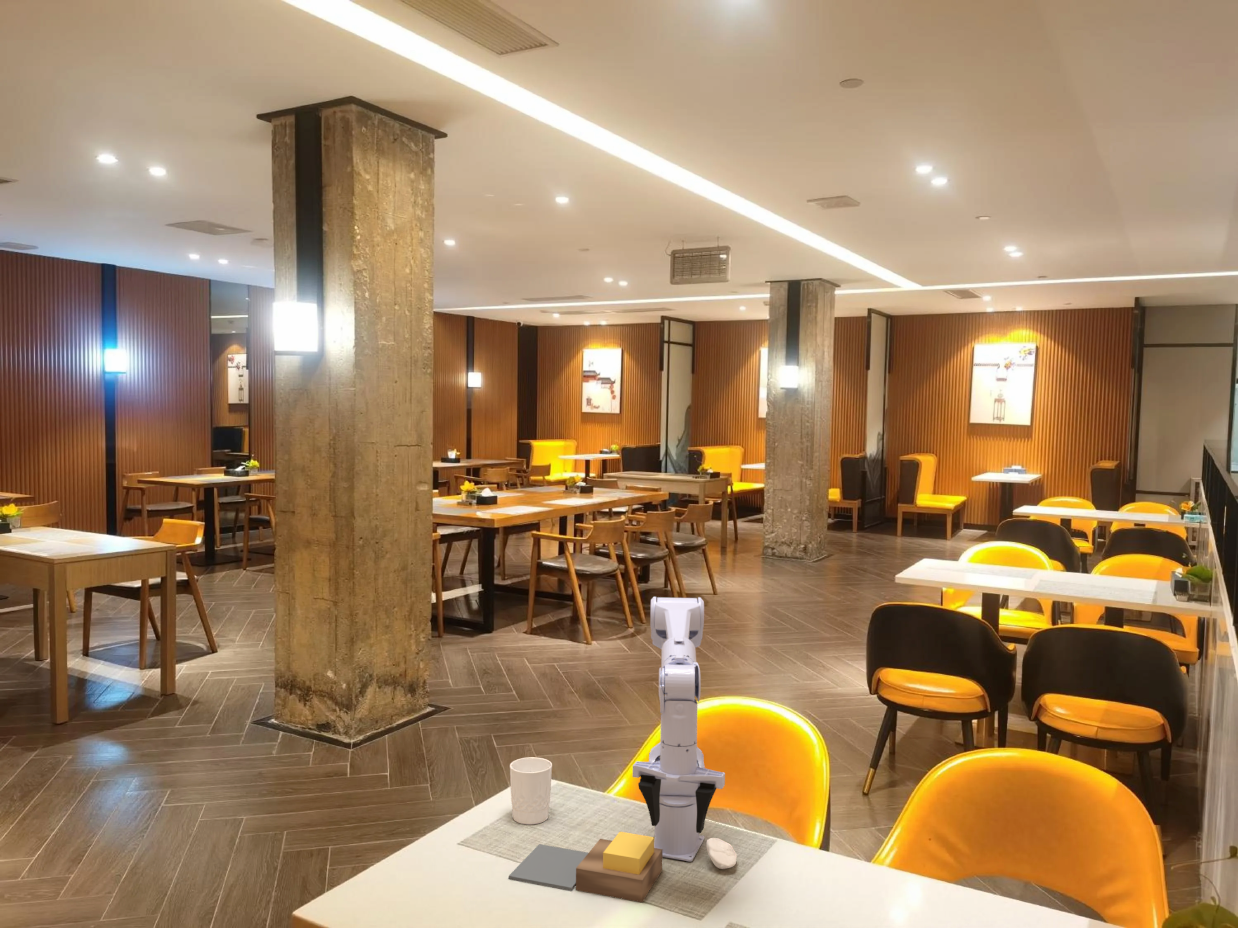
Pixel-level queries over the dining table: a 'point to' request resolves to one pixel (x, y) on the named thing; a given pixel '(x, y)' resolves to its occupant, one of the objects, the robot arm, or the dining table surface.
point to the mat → (550, 867)
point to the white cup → (530, 789)
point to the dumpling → (721, 853)
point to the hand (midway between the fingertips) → (677, 826)
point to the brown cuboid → (616, 876)
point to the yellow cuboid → (628, 853)
